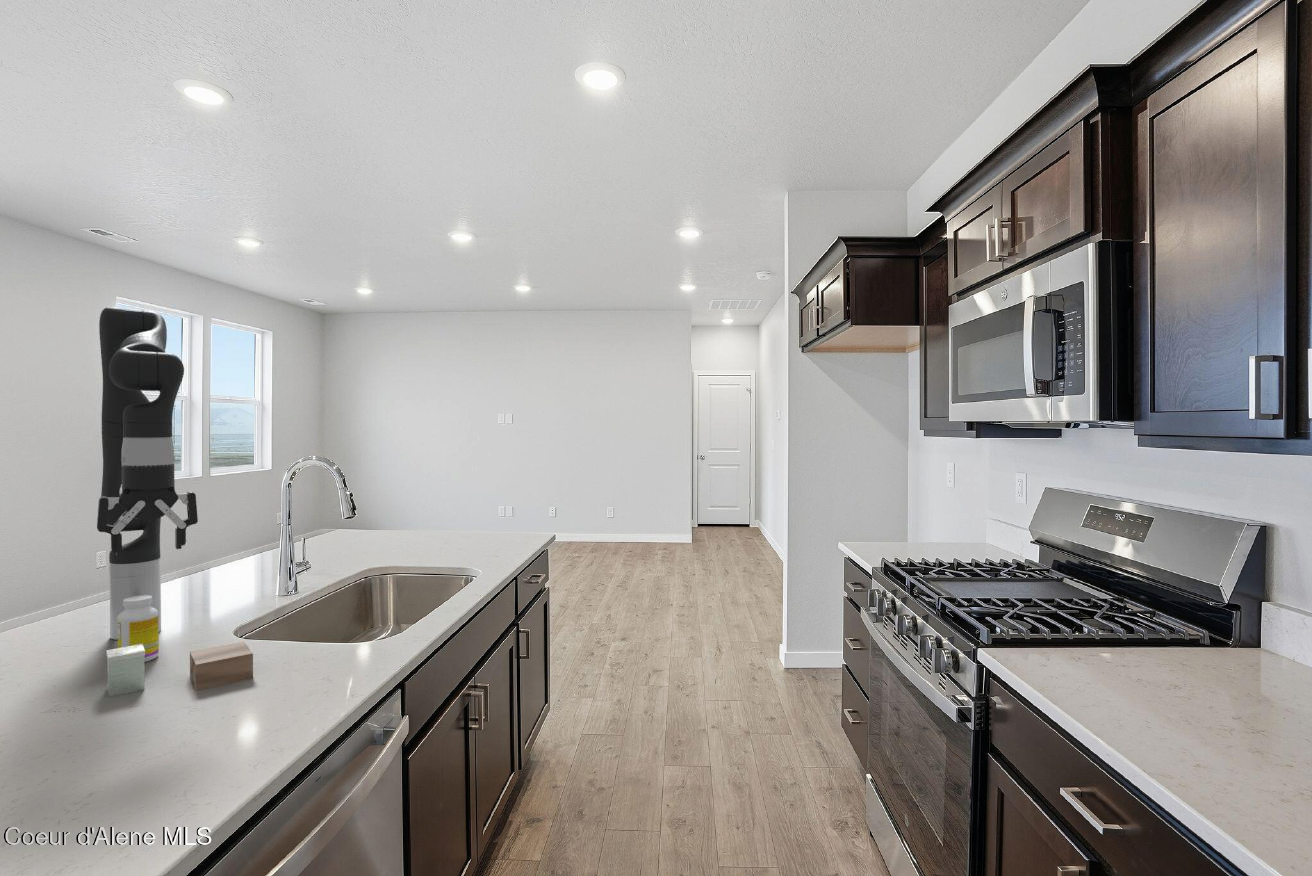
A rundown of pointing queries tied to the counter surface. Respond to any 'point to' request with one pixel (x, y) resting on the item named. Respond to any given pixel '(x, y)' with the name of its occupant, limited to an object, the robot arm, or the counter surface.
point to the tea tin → (125, 669)
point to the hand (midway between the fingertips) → (149, 551)
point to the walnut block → (221, 665)
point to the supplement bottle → (139, 625)
